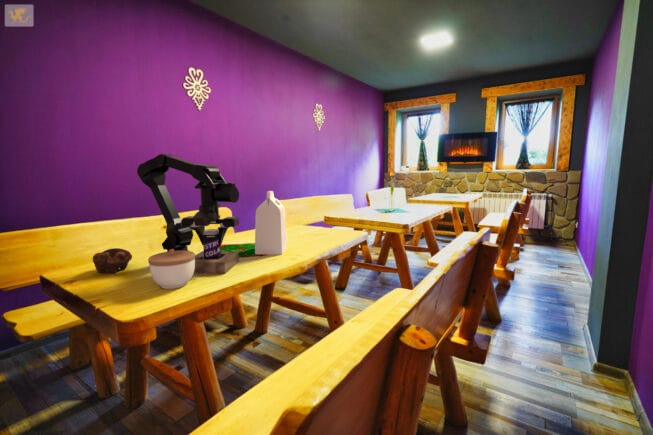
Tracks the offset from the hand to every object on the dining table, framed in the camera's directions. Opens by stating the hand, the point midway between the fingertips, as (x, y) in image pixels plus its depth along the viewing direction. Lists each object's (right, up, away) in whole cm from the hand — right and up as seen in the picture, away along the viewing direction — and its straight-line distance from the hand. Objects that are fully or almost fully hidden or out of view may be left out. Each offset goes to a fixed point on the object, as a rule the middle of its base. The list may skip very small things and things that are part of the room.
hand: (211, 245), depth 108 cm
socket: (0, -8, +1) cm, 8 cm away
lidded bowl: (-5, -11, -16) cm, 20 cm away
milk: (+17, -5, +24) cm, 30 cm away
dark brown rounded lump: (-33, -9, -2) cm, 34 cm away
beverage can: (0, -7, +1) cm, 7 cm away
